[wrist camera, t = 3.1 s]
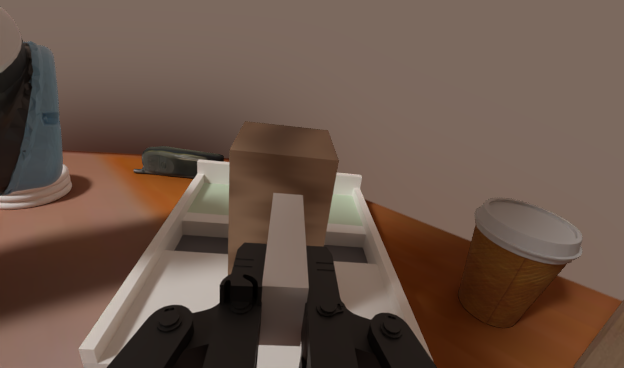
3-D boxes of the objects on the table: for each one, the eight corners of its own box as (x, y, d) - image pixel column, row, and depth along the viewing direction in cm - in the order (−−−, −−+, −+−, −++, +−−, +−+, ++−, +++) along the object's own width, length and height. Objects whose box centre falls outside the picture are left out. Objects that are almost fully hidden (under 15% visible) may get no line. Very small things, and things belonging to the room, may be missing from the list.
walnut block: (227, 327, 26) (229, 149, 20) (239, 270, 33) (245, 121, 26) (308, 330, 27) (338, 160, 20) (305, 274, 33) (328, 130, 27)
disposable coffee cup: (468, 267, 42) (503, 189, 37) (546, 317, 36) (601, 231, 31) (428, 293, 37) (461, 205, 32) (510, 358, 30) (570, 260, 25)
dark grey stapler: (224, 151, 57) (136, 142, 54) (222, 157, 54) (129, 148, 52) (223, 176, 59) (138, 168, 56) (221, 183, 56) (131, 175, 54)
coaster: (46, 213, 42) (40, 190, 40) (-41, 209, 40) (-51, 185, 39) (85, 180, 51) (81, 160, 49) (15, 177, 49) (9, 156, 47)
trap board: (419, 392, 26) (441, 343, 24) (88, 384, 23) (72, 329, 21) (354, 206, 54) (360, 174, 51) (199, 193, 51) (198, 159, 49)
